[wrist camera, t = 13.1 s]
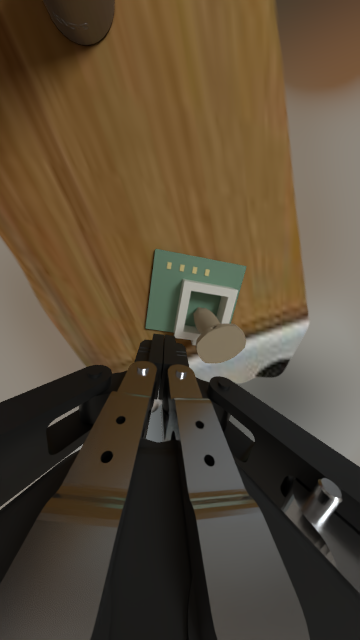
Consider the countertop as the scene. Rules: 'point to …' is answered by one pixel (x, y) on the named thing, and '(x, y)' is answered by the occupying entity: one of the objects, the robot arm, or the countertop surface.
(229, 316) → the socket
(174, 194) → the countertop surface
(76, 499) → the robot arm
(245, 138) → the countertop surface
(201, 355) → the handle
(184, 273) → the board
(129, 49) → the countertop surface
